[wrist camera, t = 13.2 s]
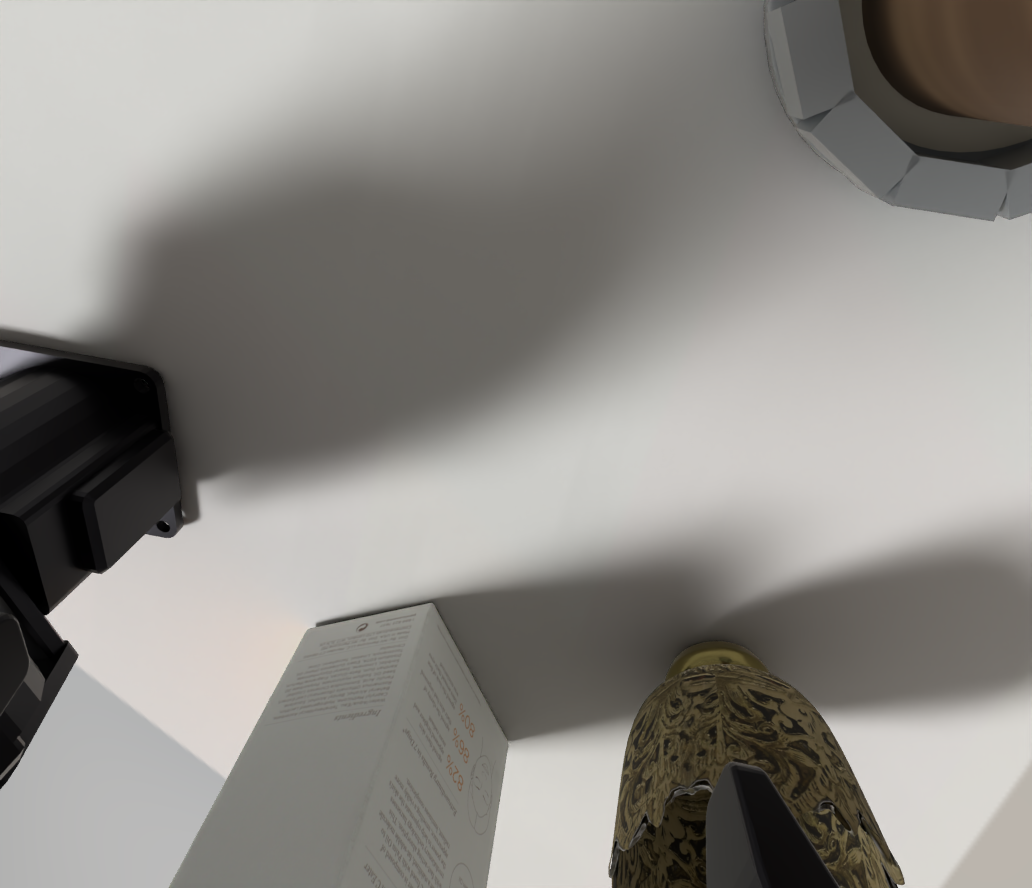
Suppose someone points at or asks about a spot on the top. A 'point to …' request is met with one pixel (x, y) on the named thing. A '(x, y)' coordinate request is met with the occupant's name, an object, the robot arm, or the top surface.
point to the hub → (888, 121)
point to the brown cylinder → (956, 55)
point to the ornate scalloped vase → (744, 739)
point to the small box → (361, 769)
